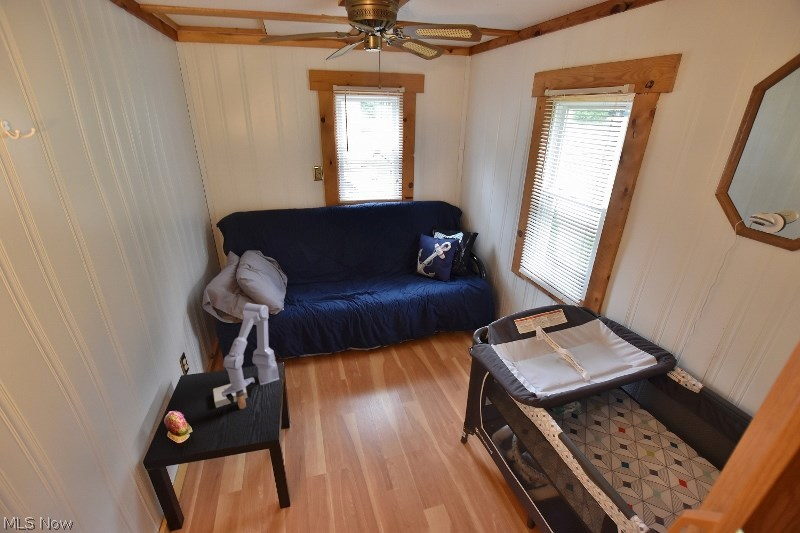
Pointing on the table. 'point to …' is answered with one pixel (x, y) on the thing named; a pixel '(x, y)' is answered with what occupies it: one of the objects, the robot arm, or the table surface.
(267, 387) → the table surface
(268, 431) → the table surface
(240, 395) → the peg
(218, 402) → the socket plate
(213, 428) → the table surface
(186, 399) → the table surface
